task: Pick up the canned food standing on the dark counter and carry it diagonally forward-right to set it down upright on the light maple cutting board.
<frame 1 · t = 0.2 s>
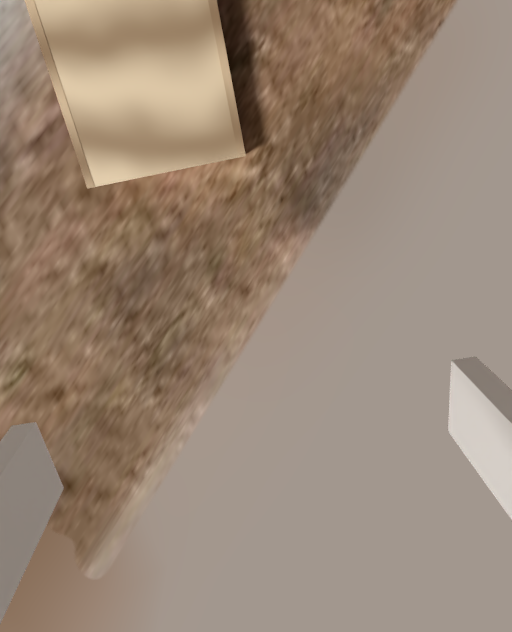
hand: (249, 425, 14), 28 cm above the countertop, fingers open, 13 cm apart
cutting board: (134, 33, 33), on the countertop
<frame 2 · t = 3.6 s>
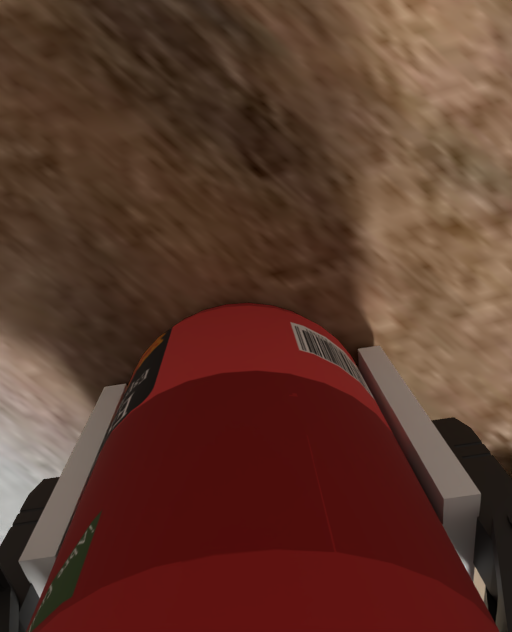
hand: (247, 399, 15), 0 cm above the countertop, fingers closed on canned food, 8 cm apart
canned food: (246, 392, 16), on the countertop, touching gripper
when the fingers open (4 cm above the countertop, at t = 8.8 s): canned food drops 1 cm, resting on cutting board.
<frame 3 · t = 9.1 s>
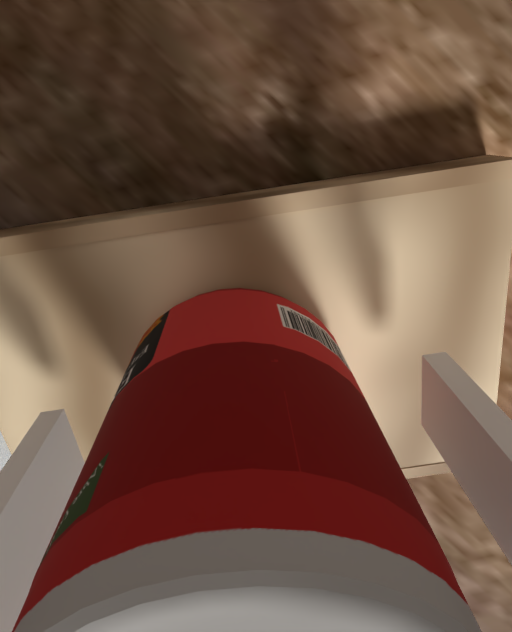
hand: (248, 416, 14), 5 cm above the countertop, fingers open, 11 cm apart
cutting board: (244, 350, 19), on the countertop
canned food: (239, 371, 17), point 2 cm above the countertop, touching cutting board
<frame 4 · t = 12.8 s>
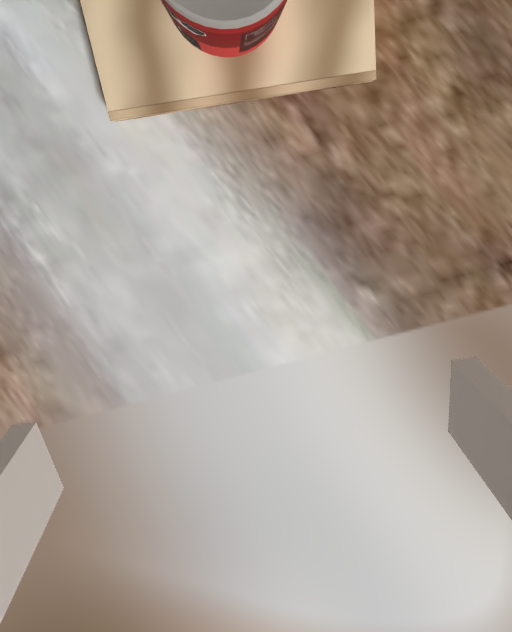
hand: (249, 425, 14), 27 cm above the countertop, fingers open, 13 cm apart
cutting board: (228, 3, 32), on the countertop
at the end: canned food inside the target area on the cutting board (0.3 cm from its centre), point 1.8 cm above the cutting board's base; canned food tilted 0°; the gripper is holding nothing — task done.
